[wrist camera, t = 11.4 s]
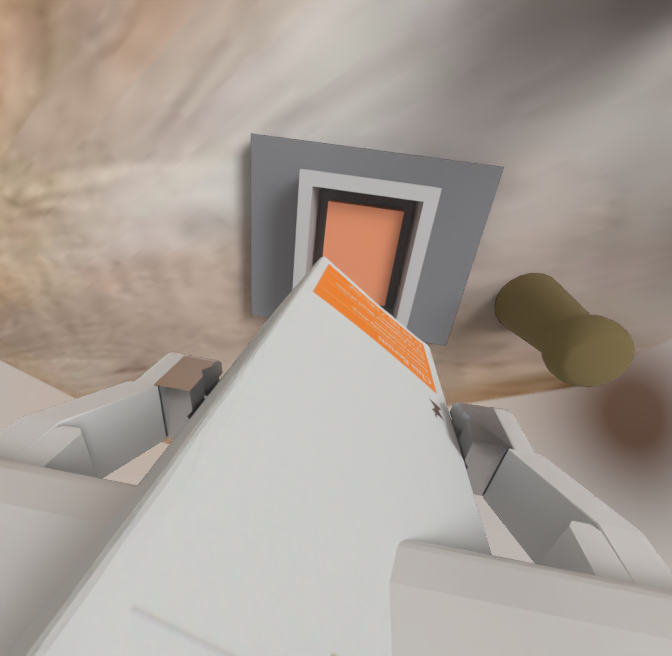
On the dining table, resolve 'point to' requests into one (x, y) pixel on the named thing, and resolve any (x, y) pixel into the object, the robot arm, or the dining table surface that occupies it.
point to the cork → (564, 331)
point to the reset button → (363, 244)
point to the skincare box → (279, 499)
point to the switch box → (373, 189)
